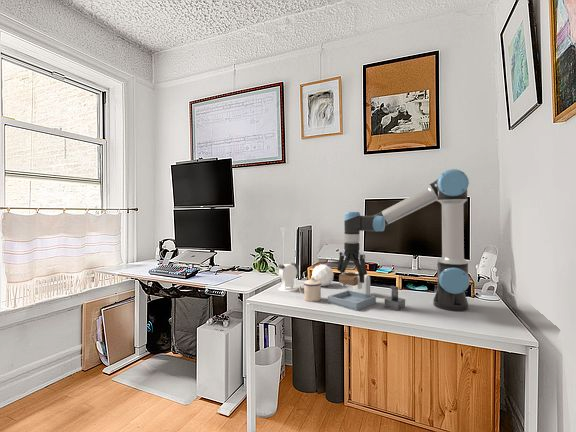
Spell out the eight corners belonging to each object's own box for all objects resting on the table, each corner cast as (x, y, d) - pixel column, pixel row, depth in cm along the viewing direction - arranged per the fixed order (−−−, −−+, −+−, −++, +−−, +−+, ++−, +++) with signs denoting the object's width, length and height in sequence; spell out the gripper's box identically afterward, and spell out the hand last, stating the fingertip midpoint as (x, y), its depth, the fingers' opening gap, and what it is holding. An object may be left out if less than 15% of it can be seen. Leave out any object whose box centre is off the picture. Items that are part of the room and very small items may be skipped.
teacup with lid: (323, 298, 168) (323, 276, 168) (317, 302, 160) (317, 280, 160) (302, 295, 173) (302, 274, 173) (296, 300, 165) (296, 277, 165)
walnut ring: (353, 285, 153) (354, 277, 153) (338, 282, 159) (339, 274, 159) (365, 282, 160) (366, 274, 160) (351, 279, 167) (351, 271, 167)
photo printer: (351, 293, 178) (351, 271, 178) (356, 291, 181) (356, 270, 180) (366, 297, 170) (366, 274, 170) (371, 295, 173) (371, 273, 172)
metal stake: (405, 307, 152) (405, 286, 152) (398, 310, 147) (398, 289, 147) (391, 304, 157) (391, 284, 157) (384, 307, 152) (384, 286, 152)
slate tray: (375, 303, 159) (375, 296, 159) (356, 310, 148) (356, 303, 147) (347, 296, 172) (347, 289, 171) (328, 303, 160) (328, 296, 160)
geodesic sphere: (321, 281, 183) (329, 260, 189) (303, 277, 193) (311, 258, 198) (332, 292, 192) (340, 272, 197) (315, 288, 201) (323, 269, 207)
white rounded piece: (289, 285, 196) (289, 261, 195) (302, 289, 187) (301, 264, 186) (274, 288, 188) (274, 263, 188) (286, 292, 179) (286, 266, 179)
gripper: (375, 243, 153) (374, 289, 154) (339, 240, 169) (338, 281, 170) (366, 244, 148) (366, 292, 149) (330, 241, 164) (330, 284, 165)
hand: (351, 286), depth 159 cm, fingers closed on walnut ring, 9 cm apart
